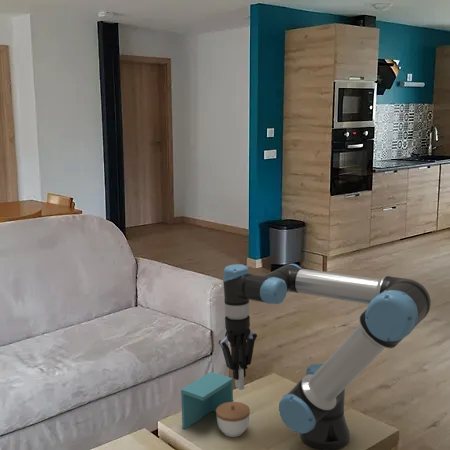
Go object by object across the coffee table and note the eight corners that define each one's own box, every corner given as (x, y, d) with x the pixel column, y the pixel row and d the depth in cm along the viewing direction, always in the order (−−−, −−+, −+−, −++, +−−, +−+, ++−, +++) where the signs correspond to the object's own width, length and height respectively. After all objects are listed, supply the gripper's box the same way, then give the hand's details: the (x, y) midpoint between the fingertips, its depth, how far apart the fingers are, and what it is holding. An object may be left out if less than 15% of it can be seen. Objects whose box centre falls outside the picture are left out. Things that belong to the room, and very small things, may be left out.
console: (233, 416, 199) (232, 378, 196) (204, 437, 187) (203, 397, 184) (212, 408, 204) (211, 371, 202) (182, 428, 192) (181, 389, 189)
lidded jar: (247, 442, 183) (246, 414, 182) (213, 439, 185) (212, 411, 184) (252, 424, 194) (252, 398, 192) (220, 421, 196) (219, 395, 194)
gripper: (247, 308, 187) (250, 378, 191) (212, 316, 180) (215, 389, 185) (261, 314, 181) (263, 386, 185) (225, 323, 174) (228, 398, 178)
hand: (239, 387), depth 185 cm, fingers closed
